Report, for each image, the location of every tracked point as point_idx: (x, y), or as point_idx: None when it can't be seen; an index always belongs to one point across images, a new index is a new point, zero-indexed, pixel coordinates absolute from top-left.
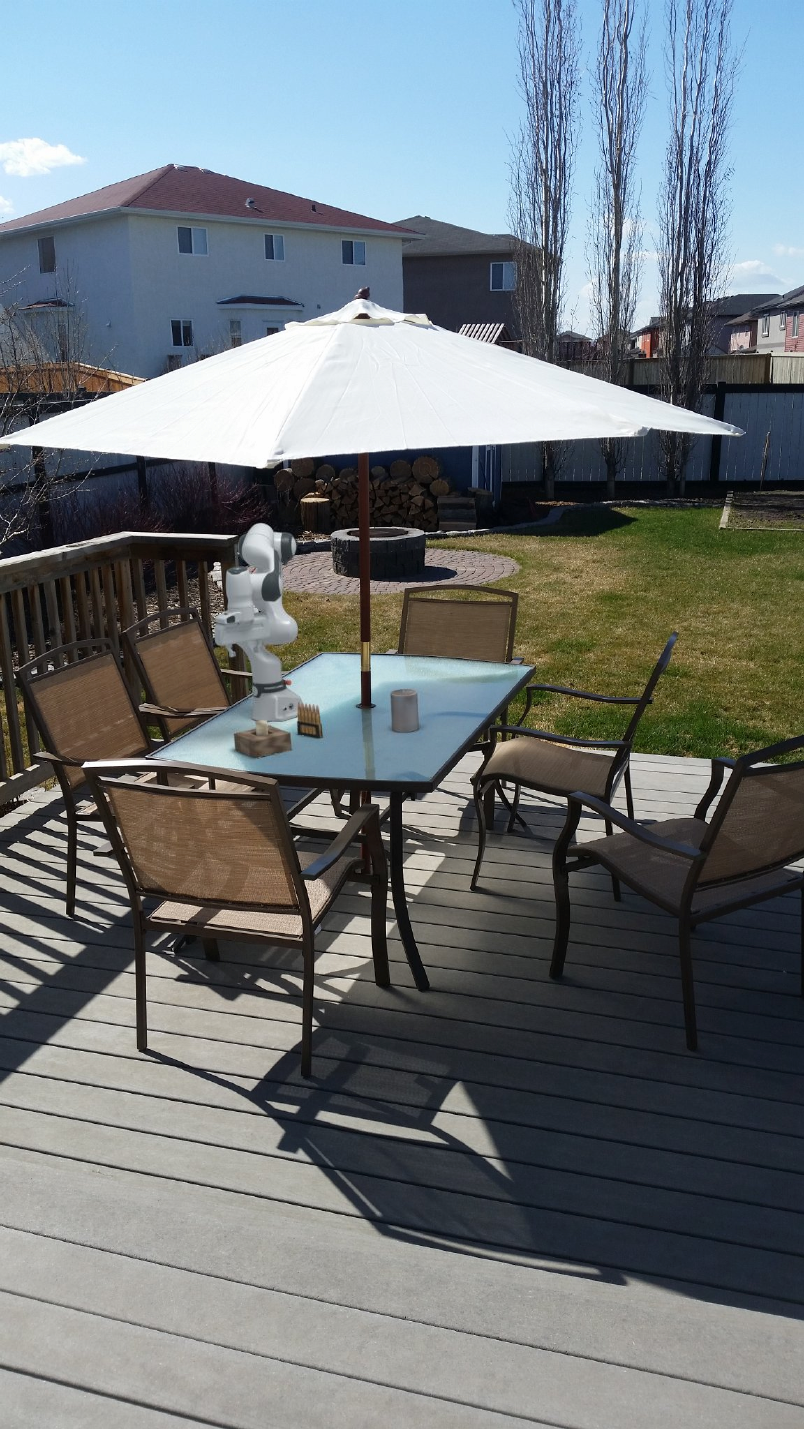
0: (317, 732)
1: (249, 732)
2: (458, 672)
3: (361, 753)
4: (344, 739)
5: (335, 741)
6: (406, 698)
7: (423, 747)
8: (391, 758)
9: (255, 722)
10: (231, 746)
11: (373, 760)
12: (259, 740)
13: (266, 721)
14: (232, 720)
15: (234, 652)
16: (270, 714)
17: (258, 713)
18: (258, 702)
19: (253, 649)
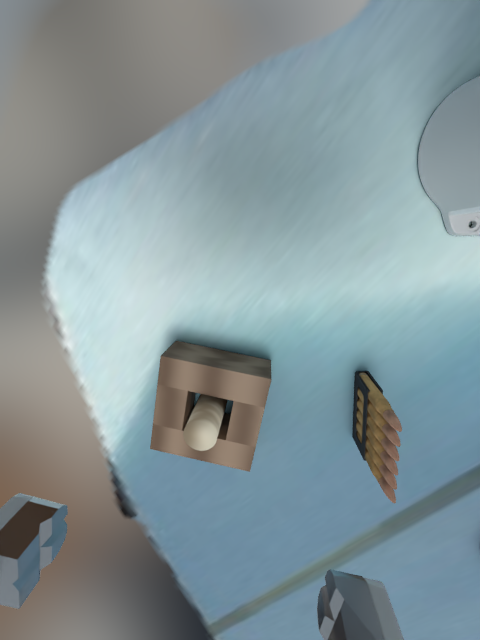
0: (357, 442)
1: (192, 384)
2: None
3: (310, 559)
4: (375, 484)
5: (352, 477)
6: None
7: (401, 623)
8: (314, 610)
9: (186, 426)
10: (190, 308)
11: (288, 593)
12: (163, 451)
13: (211, 445)
14: (386, 65)
15: (13, 595)
16: (449, 196)
17: (438, 150)
18: (472, 132)
19: (342, 605)
